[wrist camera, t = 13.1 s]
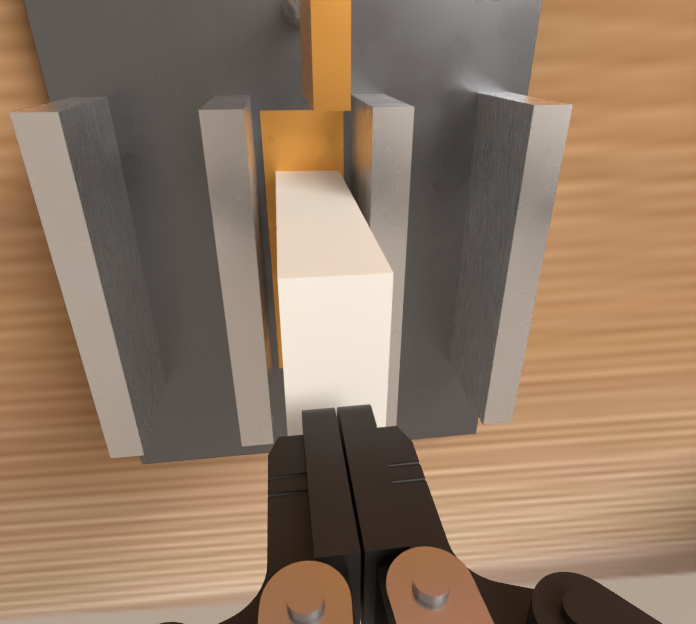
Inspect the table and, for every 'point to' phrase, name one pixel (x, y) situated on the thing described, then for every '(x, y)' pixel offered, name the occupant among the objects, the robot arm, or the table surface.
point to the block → (330, 298)
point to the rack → (260, 199)
